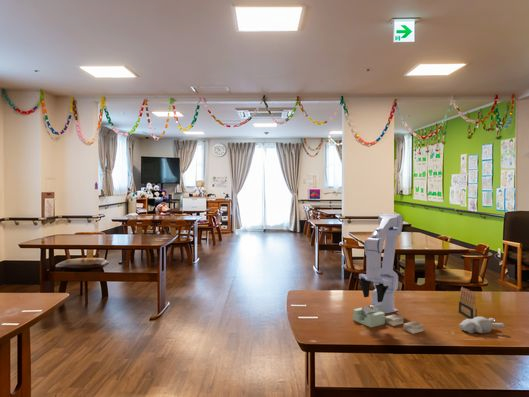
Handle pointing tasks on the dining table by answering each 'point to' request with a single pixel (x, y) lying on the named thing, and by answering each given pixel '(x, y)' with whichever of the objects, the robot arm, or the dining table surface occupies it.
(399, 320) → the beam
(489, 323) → the bunny figurine
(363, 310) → the axle
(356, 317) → the v block
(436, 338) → the dining table surface
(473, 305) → the ammunition clip
